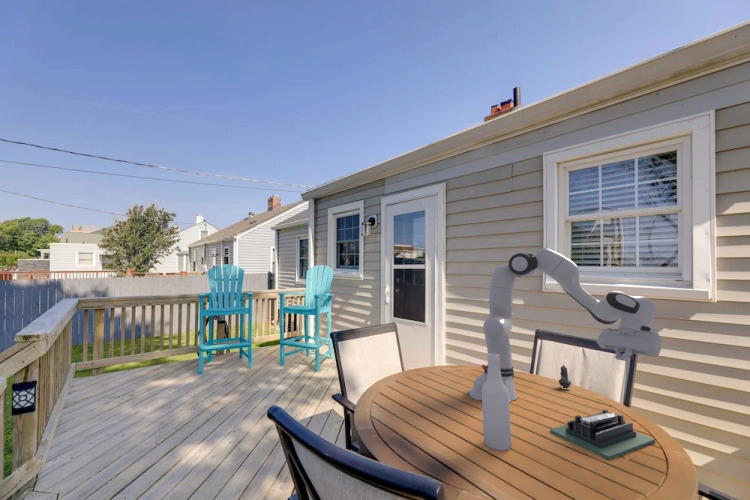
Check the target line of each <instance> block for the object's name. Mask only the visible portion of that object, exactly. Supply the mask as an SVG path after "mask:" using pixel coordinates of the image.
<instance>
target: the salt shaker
mask: <svg viewBox="0 0 750 500" xmlns="http://www.w3.org/2000/svg"><path fill="white" fill-rule="evenodd" d="M559 373H560V378H559V379H558V380H557V381H558V384H559V385H560V387H561V386H563V388H568V387H569V388H570V387H571V385H572V382H571V381H570V380H569V377H568V375H569V373H568V368H567V367H566V366H565V364H563V365H562V366H561V367H560V372H559Z"/></svg>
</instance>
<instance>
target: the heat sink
mask: <svg viewBox="0 0 750 500" xmlns="http://www.w3.org/2000/svg"><path fill="white" fill-rule="evenodd" d="M608 412H609V410H608V409H606V408H605V409H602V411H601V412H598V413H593V414H591V415H587V416H583V417H582V416H581V415H575V416H574V419H572V420H569V421H566V423H567V424H566V425H567V426H568V427H567V428H565V429H566V433H568V434H570V435H572V436H575V437H577V438H579V439H581V440H584V441H586V442H588V443H590V444H593V445H595V446H597V447H599V448H604V447H606V446H609V445H612V444H615V443H618V442H621V441H623V440H626V439H629V438H632V437H635V436H636V432H637V431H636V430H634V425H633V422H627V423H626V420H625V419H624V415H623V414H620V413H619V414H616V415H617V416H618V419H617V418H616V419H612V420H607V421H603V422H599V423H596V422H594V421H590V425H589V424H587V423H584V422H582V421H581V419H582V418H586V417H591V416H596V415H600V414H605V413H608Z"/></svg>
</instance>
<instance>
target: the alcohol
mask: <svg viewBox="0 0 750 500" xmlns="http://www.w3.org/2000/svg"><path fill="white" fill-rule="evenodd" d="M486 359H487V365H488V374H487V381H486V382H485V383H484V385H483V387H482V400H481V401H482V403H481V405H482V428H483V442H484V444H485V446H486V447H487V448H488V449H491V450H493V449H494V451H496V450H497V451H498V452H505V451H506V450H507V451H508V450H510V448H511V447H512V429H511V425H512V424H511V410H510V409H511V408H510V403H509V392H508V389H507V387H506V386H505V385H504V383H503V382H502V378H501V370H500V362H499V360H500V358H499V355H498V354H495V353H489V354H488V353H487V358H486Z"/></svg>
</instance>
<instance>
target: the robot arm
mask: <svg viewBox="0 0 750 500" xmlns="http://www.w3.org/2000/svg"><path fill="white" fill-rule="evenodd" d="M535 271H540V272H543V273H544V274H546V275H547V276H549V277H551V279H553V280H554V281H556V283H558V284H559V285H560V287H561V289H562V290H563V291H564V292H565V293H566V294H567V295H569V296H570V297H571V298H572V299H573V300H575V301H576V302H577V304H580V305H581V306H582V307H583V308H584V309H585V310H586V311H587V312H588V313H589V314H590V315H591V316H592V317H593V319H594V320H596V321H597V322H599V323H600V324H603V325H613V324H615V323H616V322H617V321H618V320H619V319H621V321H620V323H619V326H618V327H617V329H616V328H607V329H603V330H602V332H600V334H599V335H598V337H597V339H596V343H597V345H598V346H599V347H600V348H601V349H606V350H612V351H615V355H614V358H615V359H616V360H620V361H623V362H626V361H627V359H628V358H629V357H631V356H633V354H636V355H642V356H648V357H653V358H655V357H658V356H659V355H660V353H661V349H662V344H661V343H662V337H661V336H660V334H659V333H658V331H657V329H655V328H654V327H651V324H652V323H653V321H654V320H655V319H654V318H655V315H656V305H655V303H654V302H653V301H652V300H651V299H650V298H648V297H646V296H640V295H637V296H634V295H629V294H626V293H625V292H622V291H619V290H611V291H609V292H608V293H607V294H605V295H604V296H603V297H602V298H601V299H600V300H599V299H596V297H594V296H593V295H592V294H590V293H589V292H587V291H586V290H585V289H584V288H583V287H582V285H581V284H580V280H579V279H580V270H579V267H578V265H577V264H576V263H575V262H574V261H572V260H571V259H569V258H567V256H564V255H563V254H561V253H559V252H557V251H554V250H552V249H549V248H547V247H543V248H539V249H538V250H537V251H536V252H535V253H534V254H533V253H526V252H525V253H524V252H519V253H518V252H517V253H516V254H513V255H512V256H510V258H509V259H508V264H507V265H505V264H504V265H501V264H500V265H498V266H496V267H494V269H493V272H492V275H491V279H490V286H489V287H490V288H489V296H488V297H489V298H488V304H489V316H488V317H487V318H486V319H485V321H484V322H483V325H482V326H483V327H482V328H483V332H484V337H485V343H486V344H485V345H486V349H487V350H486V351H487V354H489V353H495V354H498V355H499V358H500V360H499V362H500V370H501V378H502V382H503V383H504V385H505V386H506V387H507V389H508V392H509V404H510V403H511V402H512V401H515V400H517V399H518V395H517V391H516V388H515V387H516V386H515V381H514V379H515V378H514V377H515V372H514V371H515V370H514V367H513V359H512V358H513V357H512V348H511V344H510V336H509V333H510V332H511V330H512V328H513V305H514V303H513V302H514V292H515V282H516V279H518V278H519V277H520V278H521V277H527V276H530V275H532V274H533V273H534V272H535ZM622 352H624V353H623V354H622ZM481 368H482V369H483V370H484V371H483V373H481V374H480V375H479V376H477V377H476V378H474V380H473V385H472V388H471V387H470V388H469V389H468V392H469V393H468V395H469V397H471V398H472V399H473V400H476V401H482V387H483V385H484V383H485V382H486V381H487V374H488V364H486V365H485V364H481Z"/></svg>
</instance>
